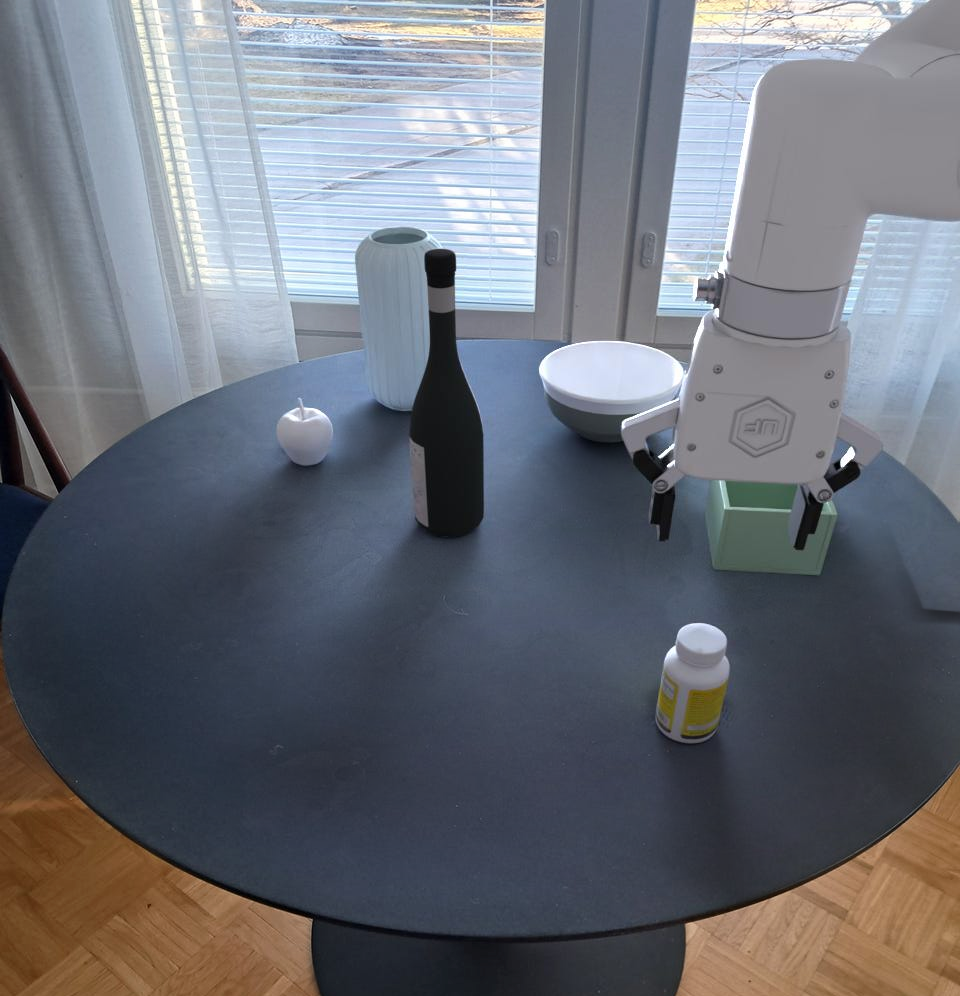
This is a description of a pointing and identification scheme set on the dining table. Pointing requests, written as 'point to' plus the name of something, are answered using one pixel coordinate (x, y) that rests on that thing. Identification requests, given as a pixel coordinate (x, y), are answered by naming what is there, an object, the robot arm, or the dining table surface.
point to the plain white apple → (305, 435)
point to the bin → (762, 529)
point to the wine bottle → (445, 420)
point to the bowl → (607, 385)
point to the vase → (394, 312)
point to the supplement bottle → (693, 684)
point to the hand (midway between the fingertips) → (727, 535)
